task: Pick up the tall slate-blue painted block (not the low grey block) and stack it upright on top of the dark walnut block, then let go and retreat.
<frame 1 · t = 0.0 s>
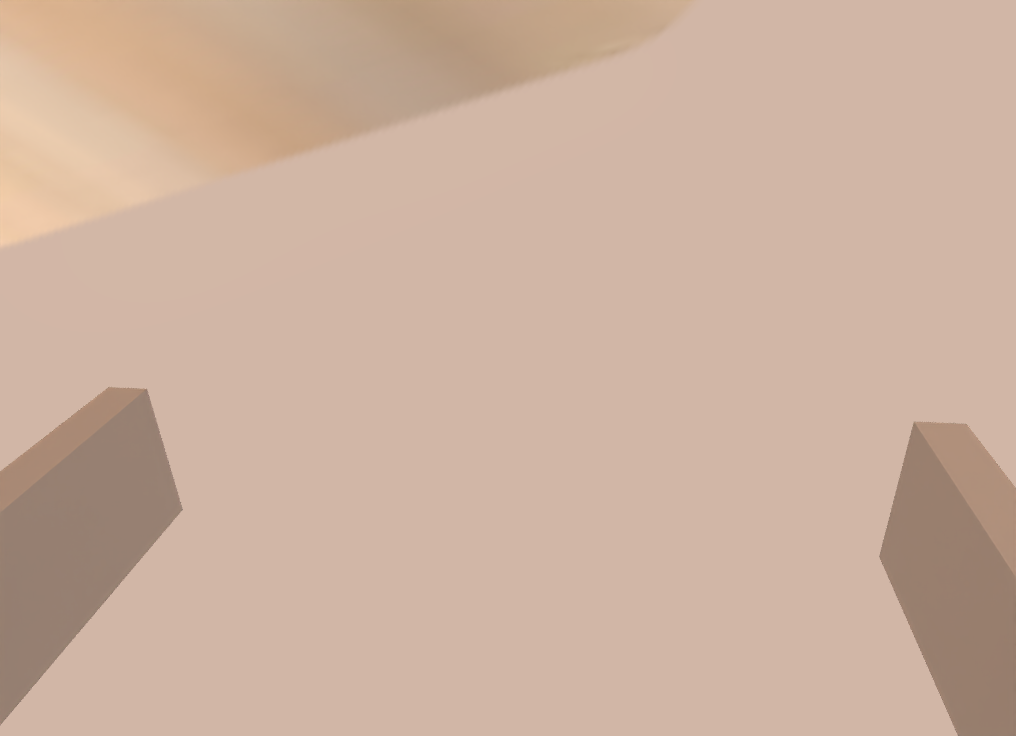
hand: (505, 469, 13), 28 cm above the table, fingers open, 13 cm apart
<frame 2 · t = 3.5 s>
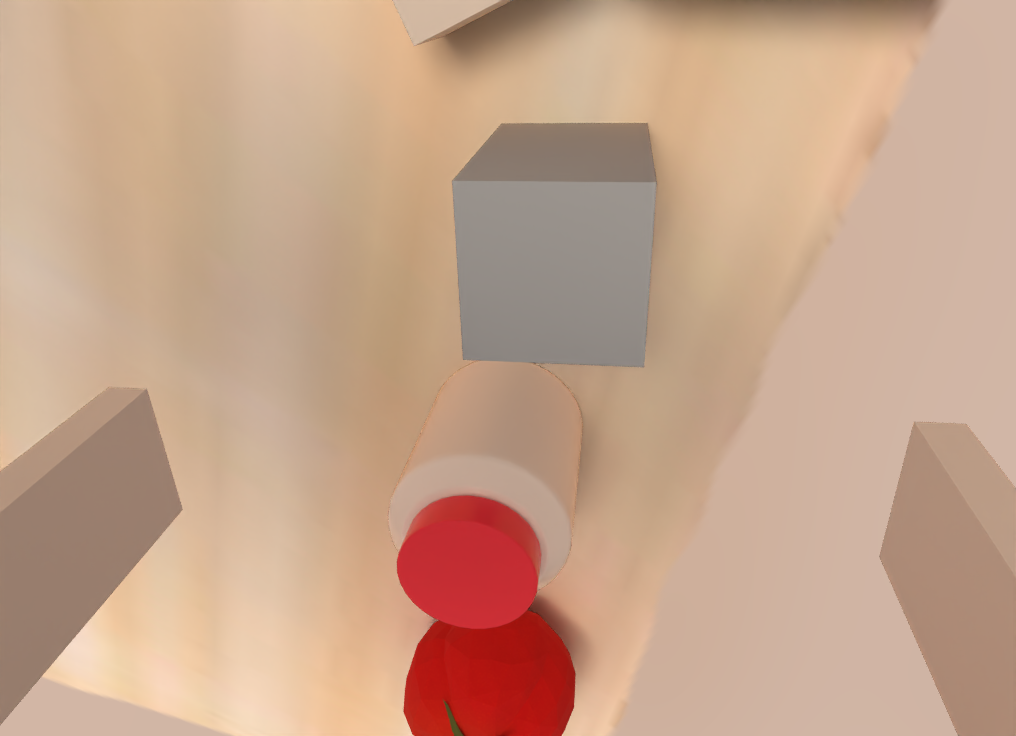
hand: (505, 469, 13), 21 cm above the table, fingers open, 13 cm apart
pill bottle: (507, 422, 38), on the table
slate block: (572, 195, 32), on the table
tomato: (500, 633, 45), on the table
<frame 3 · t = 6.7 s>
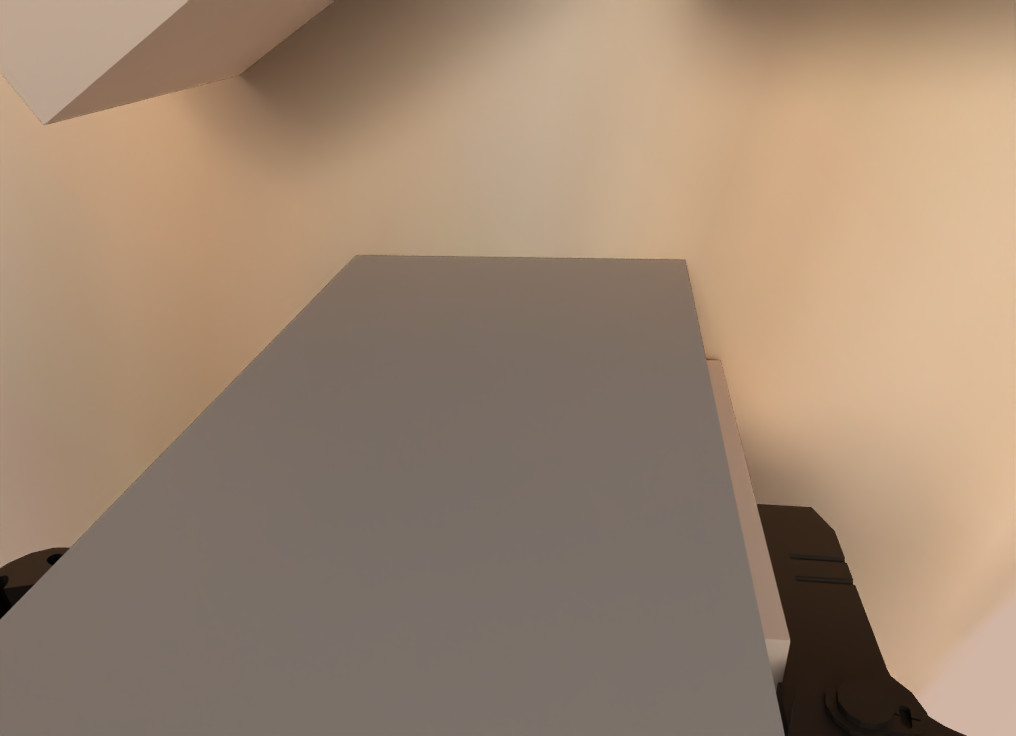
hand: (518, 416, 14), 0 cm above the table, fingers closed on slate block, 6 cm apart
slate block: (519, 400, 15), on the table, touching gripper
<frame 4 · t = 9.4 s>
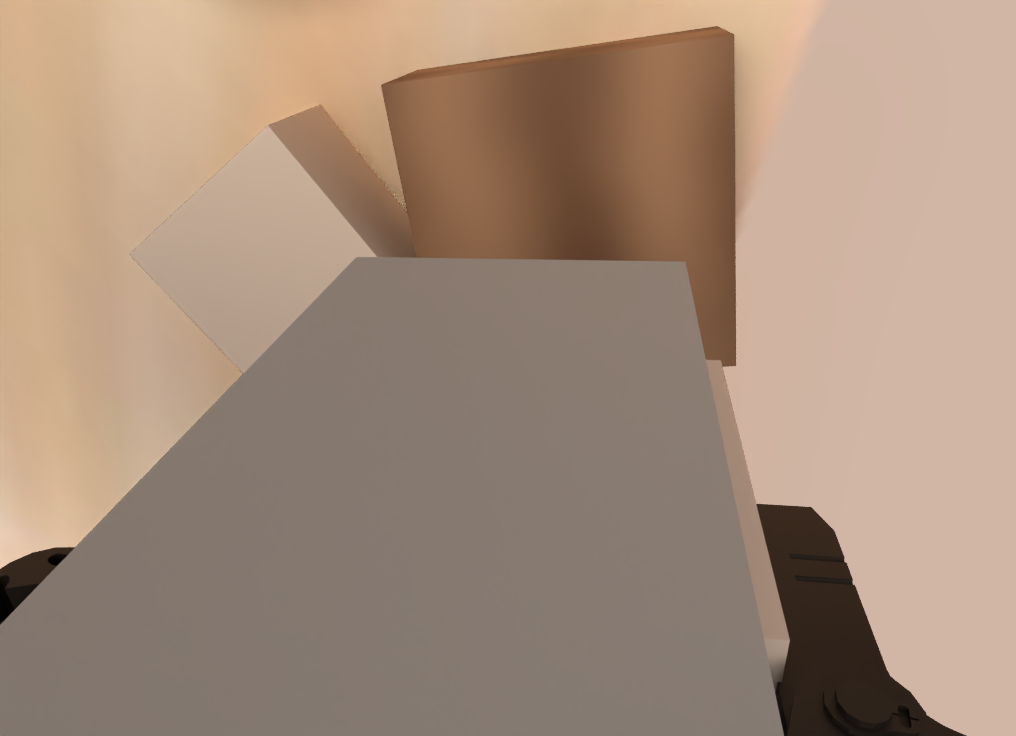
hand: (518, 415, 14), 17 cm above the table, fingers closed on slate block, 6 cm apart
grey block: (321, 239, 32), on the table
walnut block: (577, 195, 30), on the table
slate block: (520, 402, 15), point 17 cm above the table, touching gripper
when the fingers open (6 cm above the table, at t = 12.4 s): slate block drops 1 cm, point 5 cm above the table.
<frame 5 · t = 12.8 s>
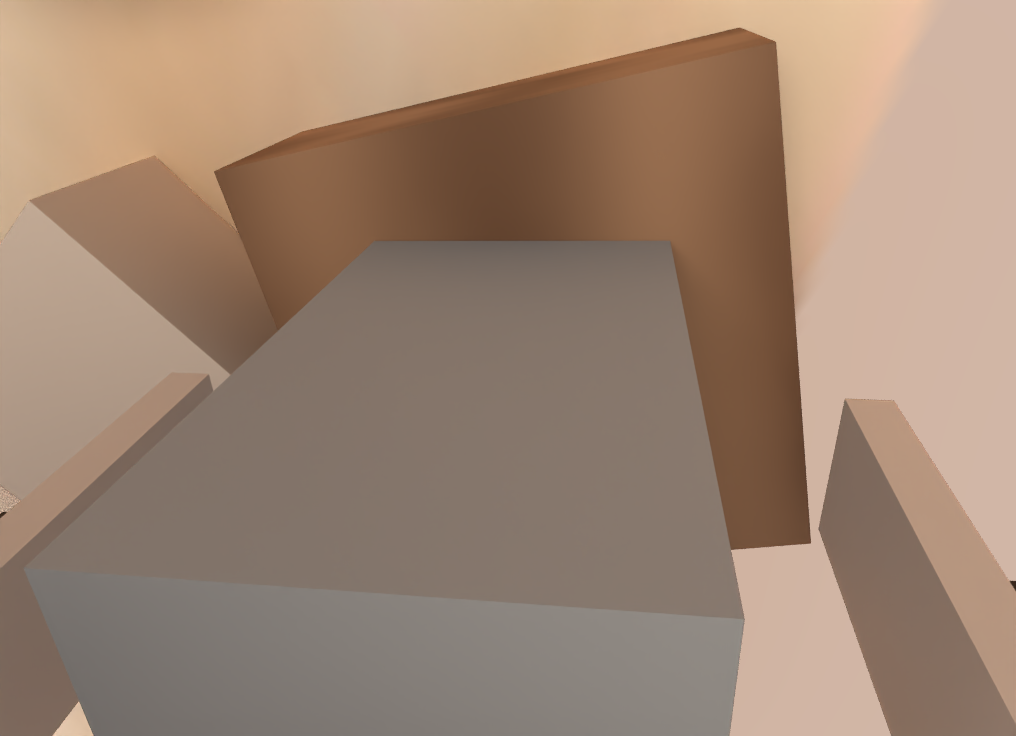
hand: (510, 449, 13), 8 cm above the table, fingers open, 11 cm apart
grey block: (196, 339, 23), on the table
walnut block: (552, 287, 20), on the table
slate block: (522, 374, 16), point 5 cm above the table
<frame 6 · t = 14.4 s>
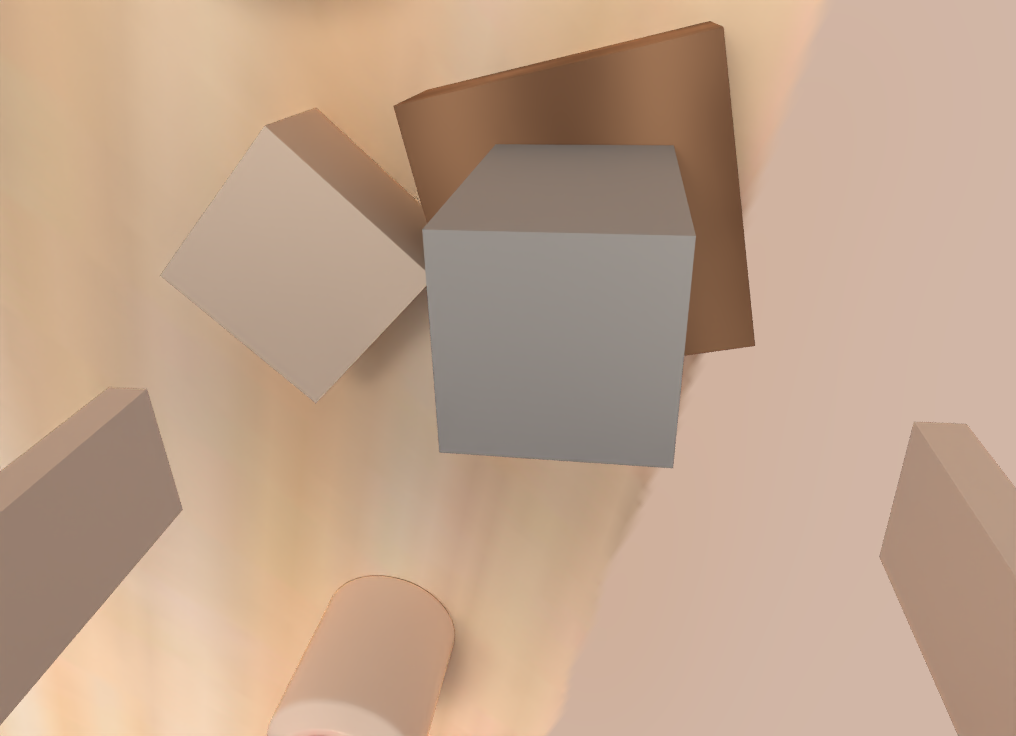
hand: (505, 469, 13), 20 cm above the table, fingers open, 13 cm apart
pill bottle: (392, 622, 44), on the table
grey block: (338, 239, 33), on the table
walnut block: (588, 195, 31), on the table, touching slate block
slate block: (580, 231, 26), point 5 cm above the table, touching walnut block
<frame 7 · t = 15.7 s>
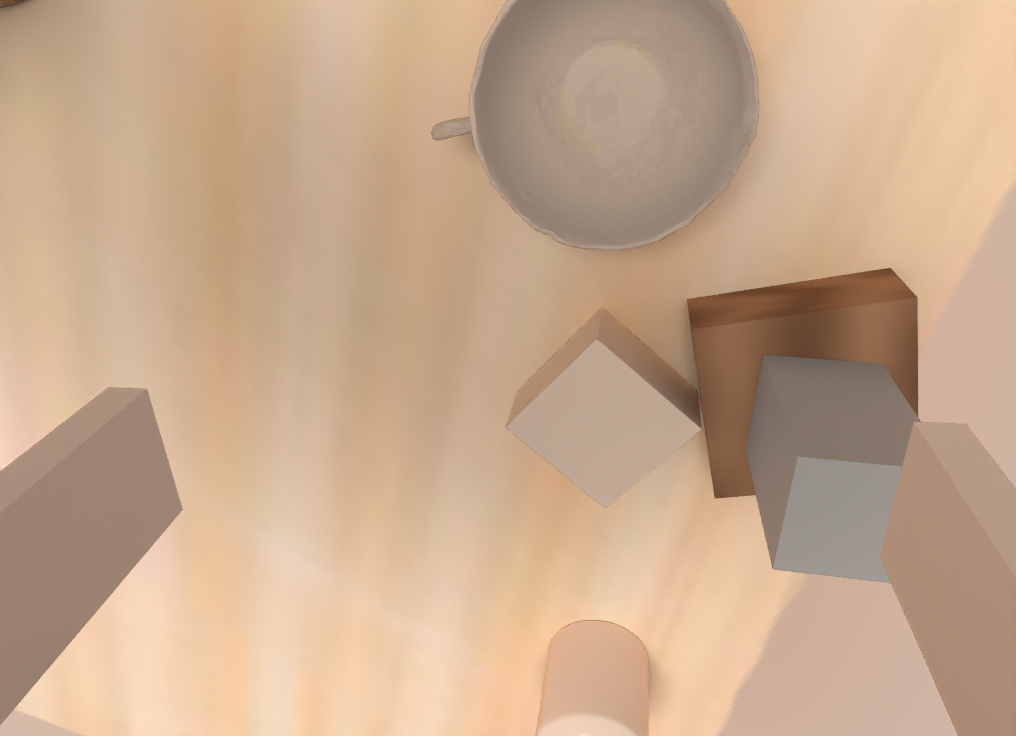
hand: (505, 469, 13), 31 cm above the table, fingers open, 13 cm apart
pill bottle: (598, 655, 57), on the table
grey block: (605, 388, 47), on the table
walnut block: (791, 367, 44), on the table
teacup: (592, 96, 39), on the table
slate block: (811, 408, 40), point 5 cm above the table
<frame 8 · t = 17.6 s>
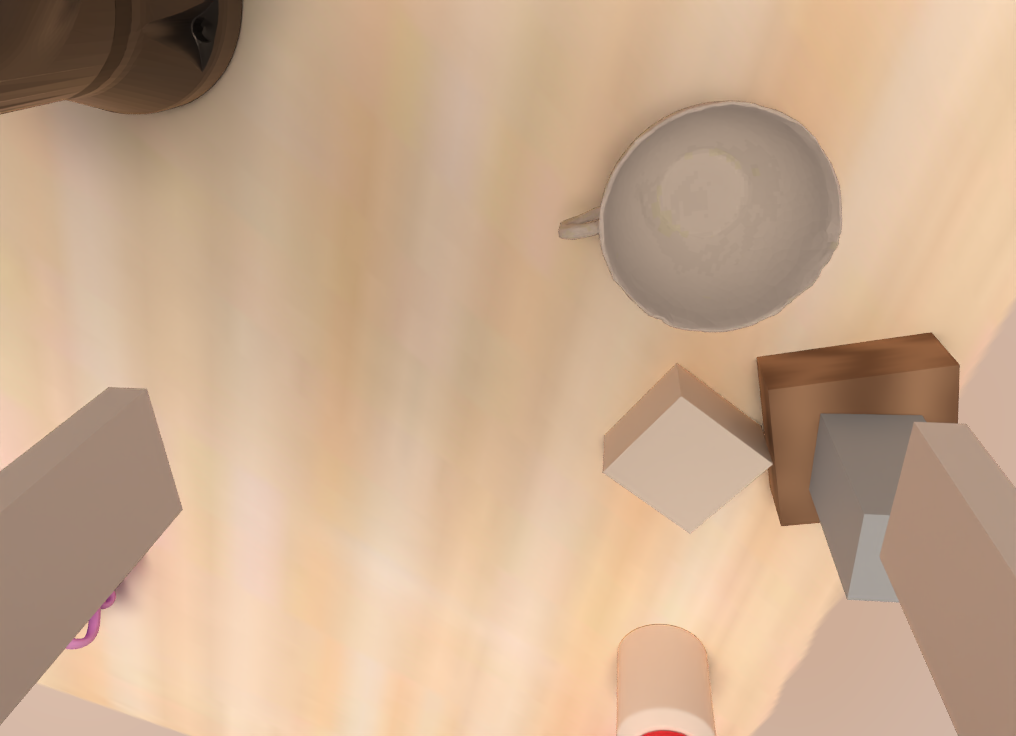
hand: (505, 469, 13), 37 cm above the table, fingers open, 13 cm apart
pill bottle: (661, 653, 65), on the table
teapot: (74, 543, 69), on the table
grey block: (681, 429, 54), on the table
walnut block: (843, 412, 52), on the table, touching slate block
teacup: (683, 191, 46), on the table
slate block: (863, 453, 48), point 5 cm above the table, touching walnut block
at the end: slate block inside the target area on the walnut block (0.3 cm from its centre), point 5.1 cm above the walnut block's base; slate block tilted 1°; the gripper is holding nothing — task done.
